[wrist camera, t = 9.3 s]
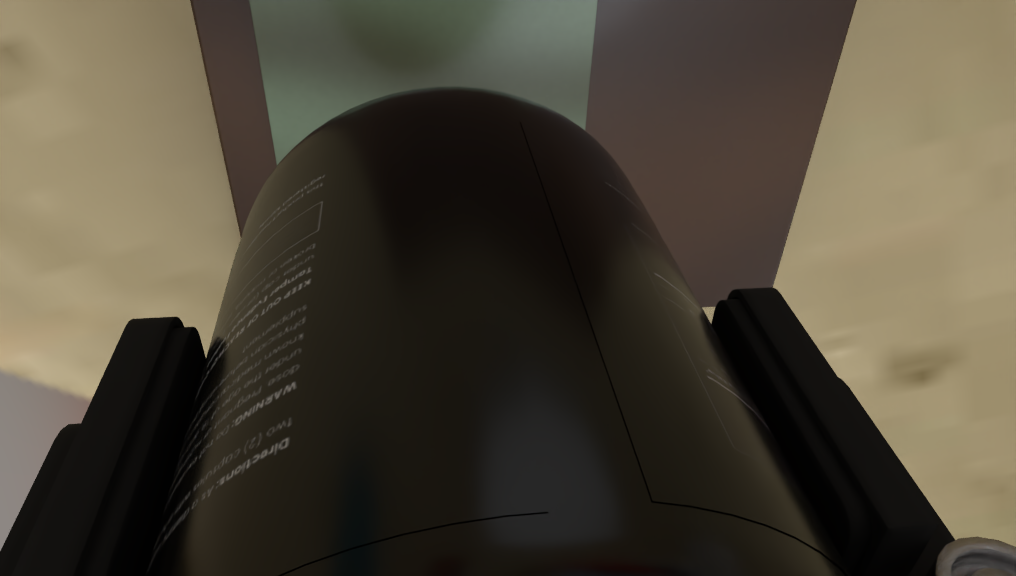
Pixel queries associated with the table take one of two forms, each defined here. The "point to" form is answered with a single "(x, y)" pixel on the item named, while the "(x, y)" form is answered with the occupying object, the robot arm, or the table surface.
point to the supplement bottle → (471, 372)
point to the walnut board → (562, 96)
